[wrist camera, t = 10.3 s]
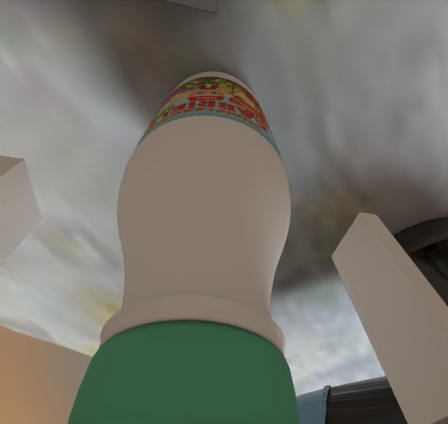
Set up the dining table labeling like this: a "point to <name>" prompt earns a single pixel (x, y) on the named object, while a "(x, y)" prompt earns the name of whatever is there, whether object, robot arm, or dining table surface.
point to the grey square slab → (198, 4)
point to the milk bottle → (197, 270)
